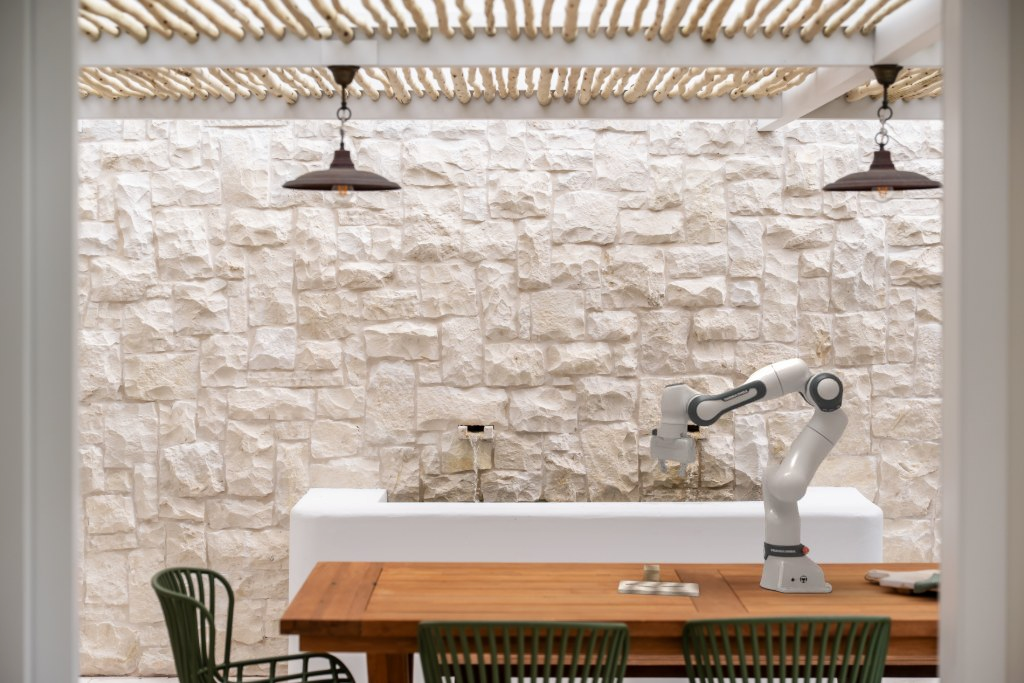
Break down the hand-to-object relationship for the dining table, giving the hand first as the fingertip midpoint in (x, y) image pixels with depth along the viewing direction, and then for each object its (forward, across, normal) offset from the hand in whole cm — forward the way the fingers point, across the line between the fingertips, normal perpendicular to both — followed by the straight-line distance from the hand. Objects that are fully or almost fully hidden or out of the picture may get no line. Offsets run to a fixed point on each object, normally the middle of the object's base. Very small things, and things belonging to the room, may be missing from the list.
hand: (672, 474), depth 364 cm
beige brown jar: (+36, +2, +5) cm, 36 cm away
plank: (+35, -8, +10) cm, 38 cm away
